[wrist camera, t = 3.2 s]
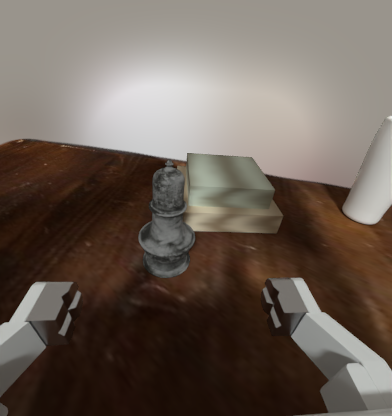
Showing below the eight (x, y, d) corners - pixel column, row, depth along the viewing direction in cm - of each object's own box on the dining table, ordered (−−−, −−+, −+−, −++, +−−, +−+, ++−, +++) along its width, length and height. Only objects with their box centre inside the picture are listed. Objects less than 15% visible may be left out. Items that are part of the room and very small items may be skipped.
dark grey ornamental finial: (202, 263, 25) (218, 165, 19) (158, 290, 22) (158, 182, 15) (173, 234, 29) (177, 143, 22) (130, 253, 26) (120, 153, 19)
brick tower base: (175, 230, 30) (178, 191, 26) (176, 180, 41) (178, 149, 38) (276, 233, 31) (291, 196, 28) (250, 184, 43) (258, 154, 39)
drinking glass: (335, 200, 41) (381, 113, 32) (378, 213, 38) (440, 122, 30) (336, 219, 36) (391, 121, 27) (385, 235, 33) (462, 133, 25)
